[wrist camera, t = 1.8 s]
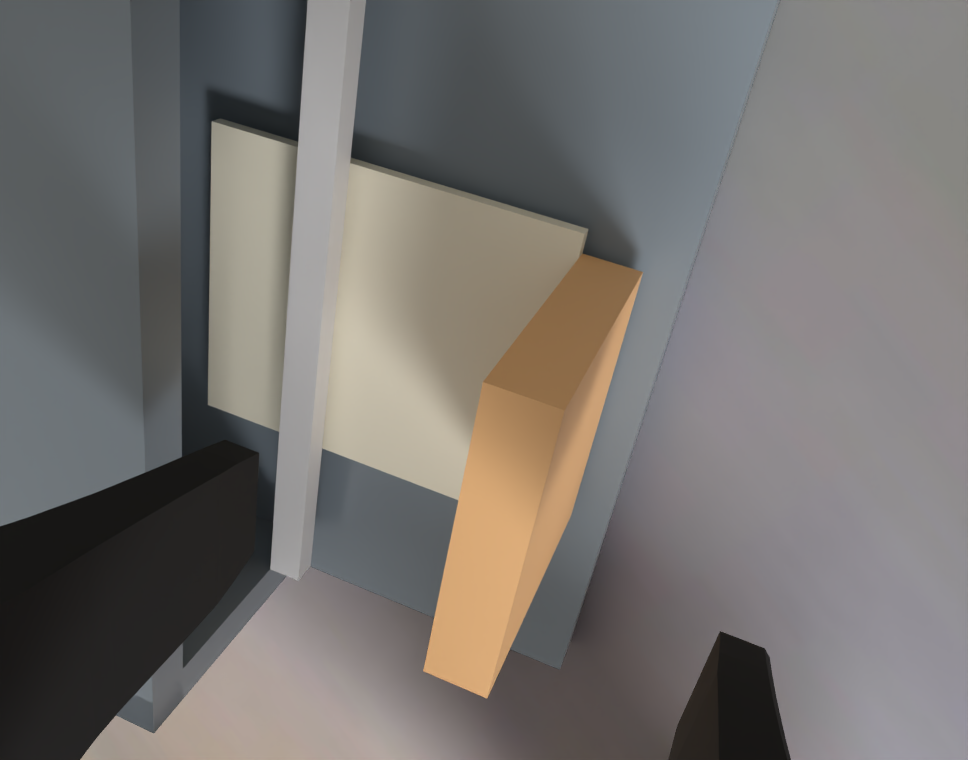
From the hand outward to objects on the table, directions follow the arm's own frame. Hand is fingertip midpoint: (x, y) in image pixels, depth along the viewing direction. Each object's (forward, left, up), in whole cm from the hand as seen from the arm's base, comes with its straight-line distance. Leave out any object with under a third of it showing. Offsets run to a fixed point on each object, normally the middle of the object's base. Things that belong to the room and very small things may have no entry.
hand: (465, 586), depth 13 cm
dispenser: (0, +5, -8) cm, 9 cm away
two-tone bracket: (0, +4, -6) cm, 7 cm away
